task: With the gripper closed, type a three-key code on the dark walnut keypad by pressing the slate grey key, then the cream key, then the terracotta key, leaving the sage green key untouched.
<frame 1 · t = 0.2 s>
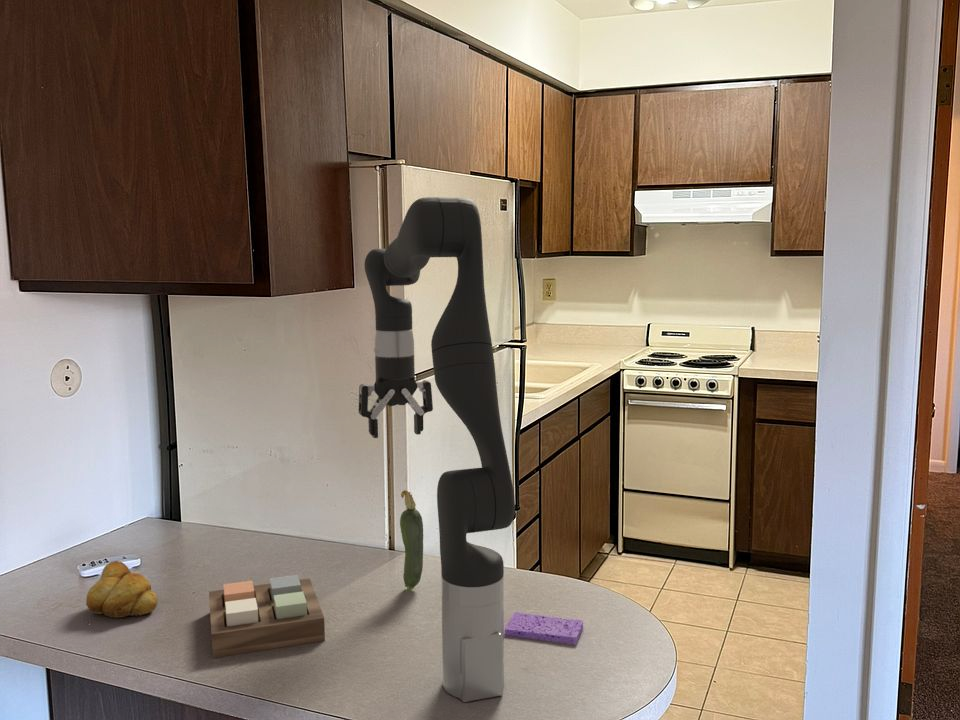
hand: (396, 435, 166), 29 cm above the worktop, tool pointing down, fingers open, 8 cm apart
keypad: (265, 626, 149), on the worktop
bread roll: (123, 612, 155), on the worktop
sponges: (543, 634, 146), on the worktop
key terracotta: (239, 595, 150), point 5 cm above the worktop, slide at 0.0 cm
vegetable: (412, 591, 163), on the worktop
key sage: (290, 607, 145), point 5 cm above the worktop, slide at 0.0 cm
key slate: (285, 589, 153), point 5 cm above the worktop, slide at 0.0 cm
key cream: (241, 614, 143), point 5 cm above the worktop, slide at 0.0 cm
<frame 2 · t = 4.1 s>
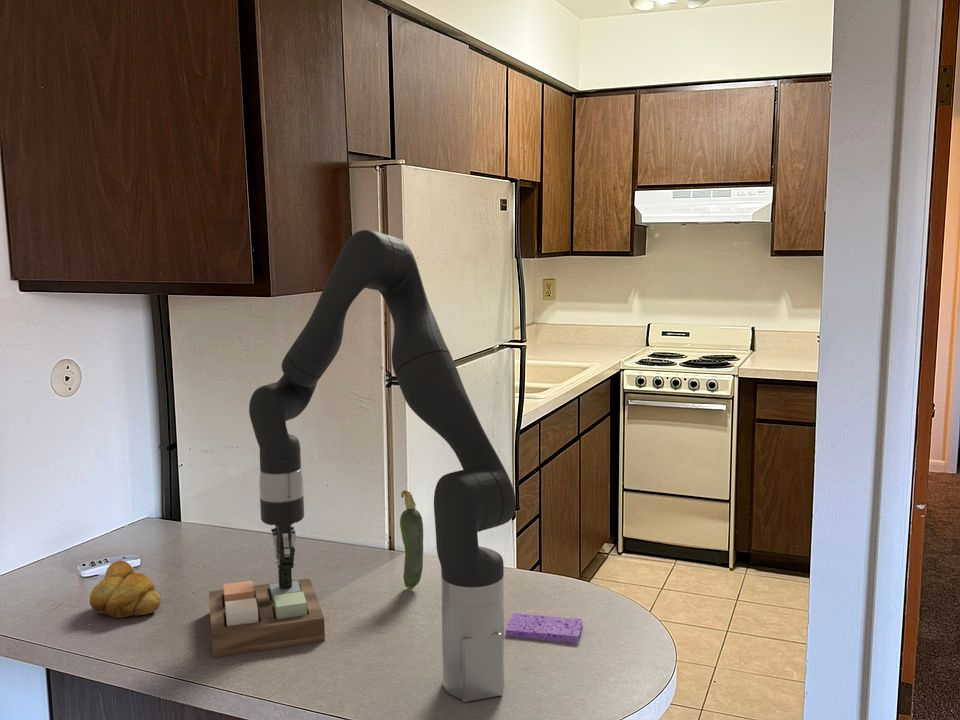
hand: (285, 587, 153), 5 cm above the worktop, tool pointing down, fingers closed
key slate: (285, 595, 153), point 3 cm above the worktop, slide at 1.1 cm, touching gripper
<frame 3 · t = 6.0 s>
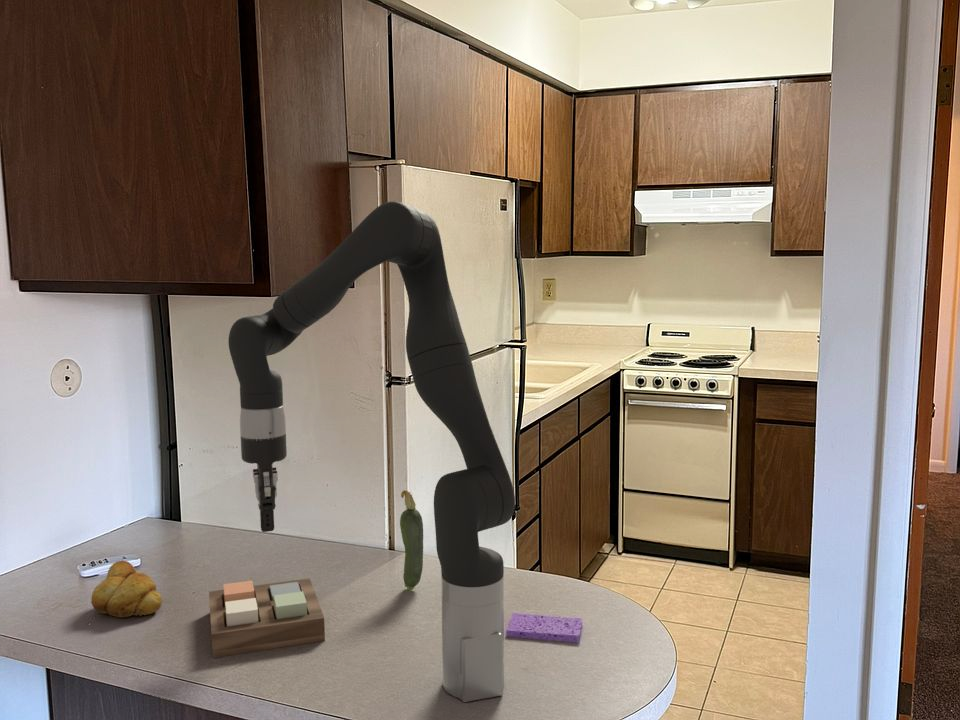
hand: (267, 530, 148), 17 cm above the worktop, tool pointing down, fingers closed
key slate: (285, 596, 153), point 3 cm above the worktop, slide at 1.4 cm
everything else where it was.
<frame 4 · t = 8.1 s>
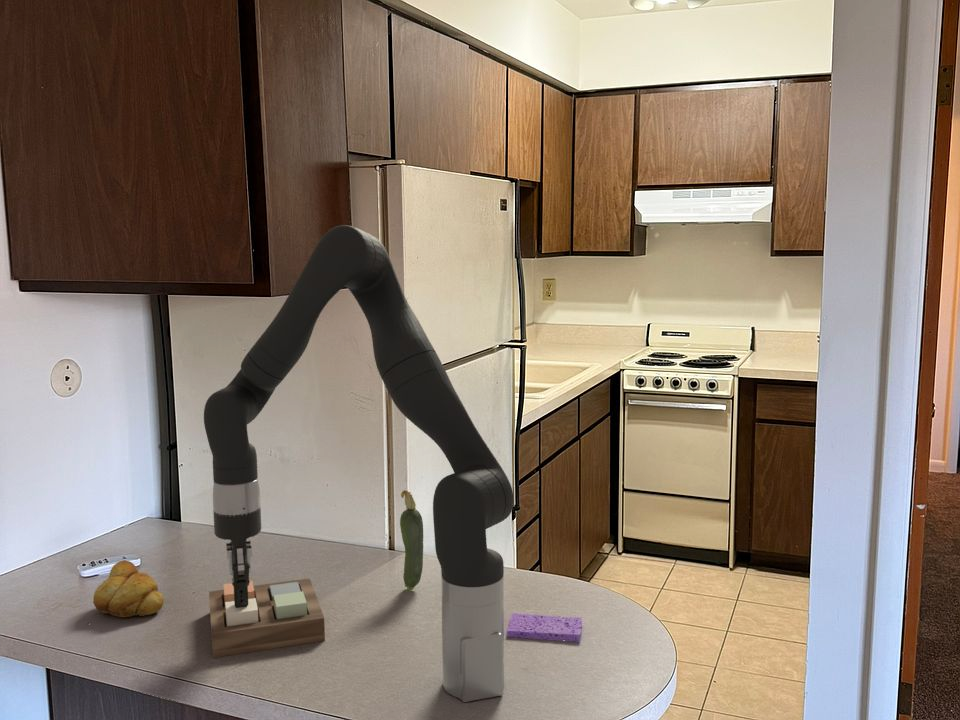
hand: (241, 605, 143), 6 cm above the worktop, tool pointing down, fingers closed
key cream: (241, 614, 143), point 4 cm above the worktop, slide at 0.1 cm, touching gripper
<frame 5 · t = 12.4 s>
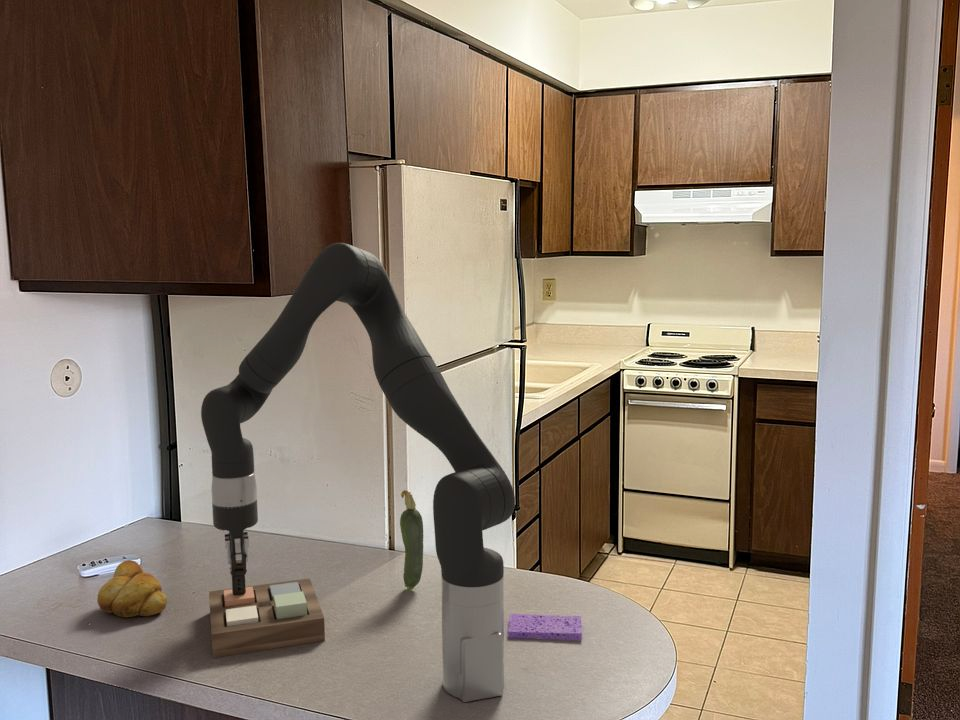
hand: (239, 593, 151), 5 cm above the worktop, tool pointing down, fingers closed
key terracotta: (239, 601, 151), point 3 cm above the worktop, slide at 1.1 cm, touching gripper
key cream: (242, 621, 143), point 3 cm above the worktop, slide at 1.4 cm
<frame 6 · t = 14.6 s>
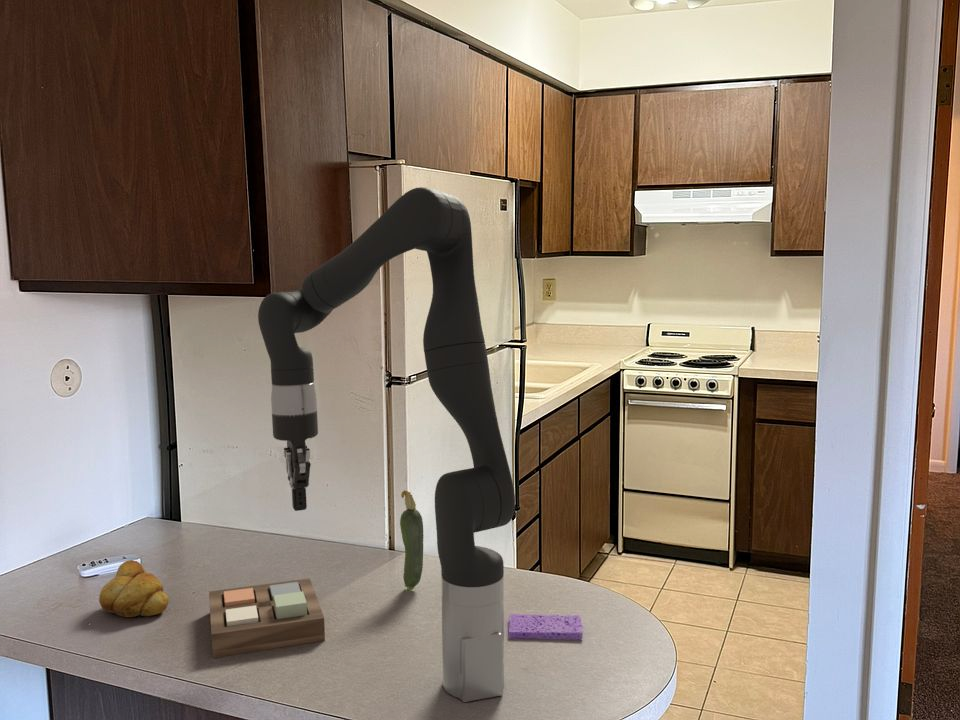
hand: (299, 509, 146), 21 cm above the worktop, tool pointing down, fingers closed
key terracotta: (239, 603, 151), point 3 cm above the worktop, slide at 1.4 cm
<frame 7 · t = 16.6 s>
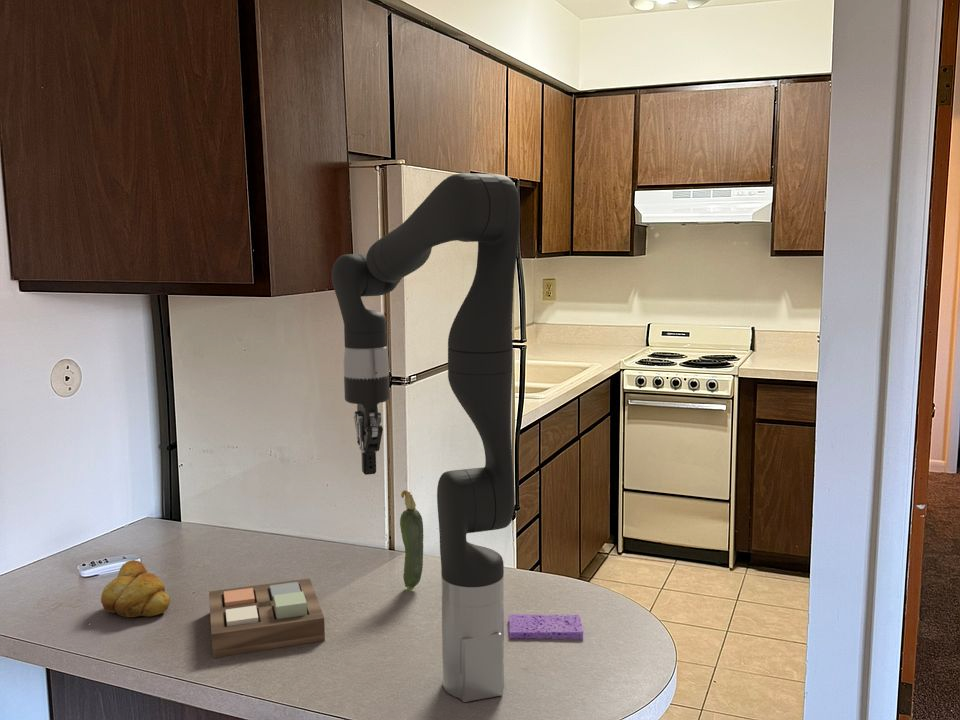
hand: (369, 473, 146), 27 cm above the worktop, tool pointing down, fingers closed
at the end: key slate slide at 1.4 cm; key cream slide at 1.4 cm; key terracotta slide at 1.4 cm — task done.
